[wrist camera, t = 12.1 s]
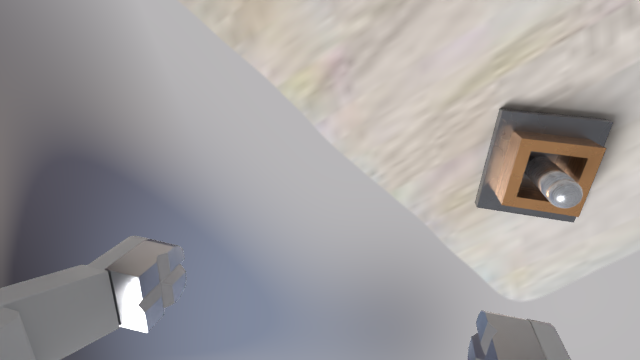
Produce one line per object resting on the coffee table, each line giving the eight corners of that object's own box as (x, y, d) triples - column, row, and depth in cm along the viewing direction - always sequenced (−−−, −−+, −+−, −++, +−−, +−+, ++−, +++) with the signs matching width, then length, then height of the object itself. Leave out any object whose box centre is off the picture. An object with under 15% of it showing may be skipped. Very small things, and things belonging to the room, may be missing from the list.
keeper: (499, 108, 33) (525, 128, 26) (606, 119, 31) (667, 144, 24) (474, 202, 37) (491, 243, 29) (568, 216, 35) (611, 264, 28)
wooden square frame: (512, 130, 32) (521, 138, 30) (589, 139, 31) (606, 148, 28) (494, 192, 35) (501, 204, 32) (565, 202, 34) (578, 216, 31)
